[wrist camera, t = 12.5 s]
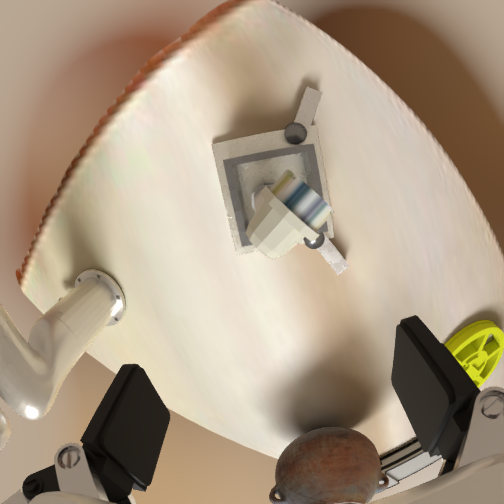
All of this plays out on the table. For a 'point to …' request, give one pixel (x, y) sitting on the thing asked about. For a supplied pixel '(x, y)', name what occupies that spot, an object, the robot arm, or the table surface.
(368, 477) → the clay pot
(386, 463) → the game console
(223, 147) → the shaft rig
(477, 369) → the pulley
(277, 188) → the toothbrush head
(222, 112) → the table surface
